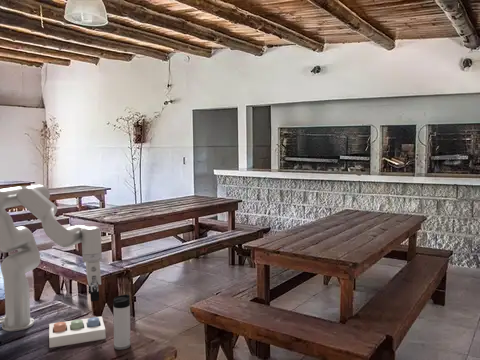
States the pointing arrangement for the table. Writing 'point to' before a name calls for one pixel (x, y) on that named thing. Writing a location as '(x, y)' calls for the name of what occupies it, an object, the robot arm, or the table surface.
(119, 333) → the travel mug
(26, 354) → the table surface
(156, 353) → the table surface
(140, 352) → the table surface
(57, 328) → the terracotta button
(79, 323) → the sage button
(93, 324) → the slate button
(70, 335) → the button box
